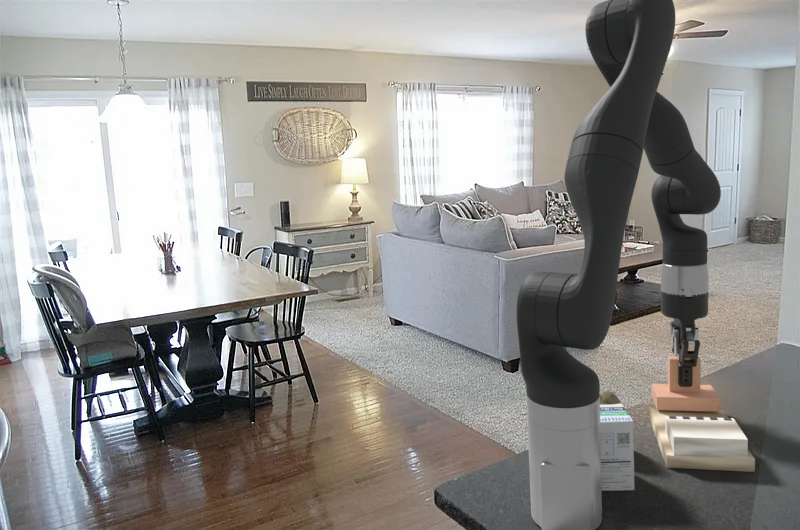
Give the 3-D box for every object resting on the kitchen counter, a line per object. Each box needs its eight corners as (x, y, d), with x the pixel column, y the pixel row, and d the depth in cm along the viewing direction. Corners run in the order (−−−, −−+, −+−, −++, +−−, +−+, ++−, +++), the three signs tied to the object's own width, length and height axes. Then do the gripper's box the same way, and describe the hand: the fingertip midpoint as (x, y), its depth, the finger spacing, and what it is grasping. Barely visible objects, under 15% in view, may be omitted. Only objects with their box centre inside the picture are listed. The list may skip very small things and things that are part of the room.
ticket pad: (754, 471, 91) (755, 439, 90) (666, 467, 94) (666, 435, 93) (722, 420, 108) (723, 392, 107) (649, 418, 111) (649, 391, 110)
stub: (719, 411, 106) (720, 364, 105) (657, 410, 109) (656, 364, 107) (710, 397, 112) (711, 353, 111) (651, 396, 115) (651, 352, 114)
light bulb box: (624, 468, 95) (623, 401, 93) (636, 492, 88) (635, 420, 86) (552, 470, 96) (550, 403, 94) (559, 493, 89) (557, 422, 87)
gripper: (655, 281, 115) (655, 370, 118) (668, 297, 102) (667, 397, 105) (699, 280, 113) (698, 370, 116) (718, 297, 100) (716, 398, 103)
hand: (683, 383), depth 110 cm, fingers closed on stub, 2 cm apart
